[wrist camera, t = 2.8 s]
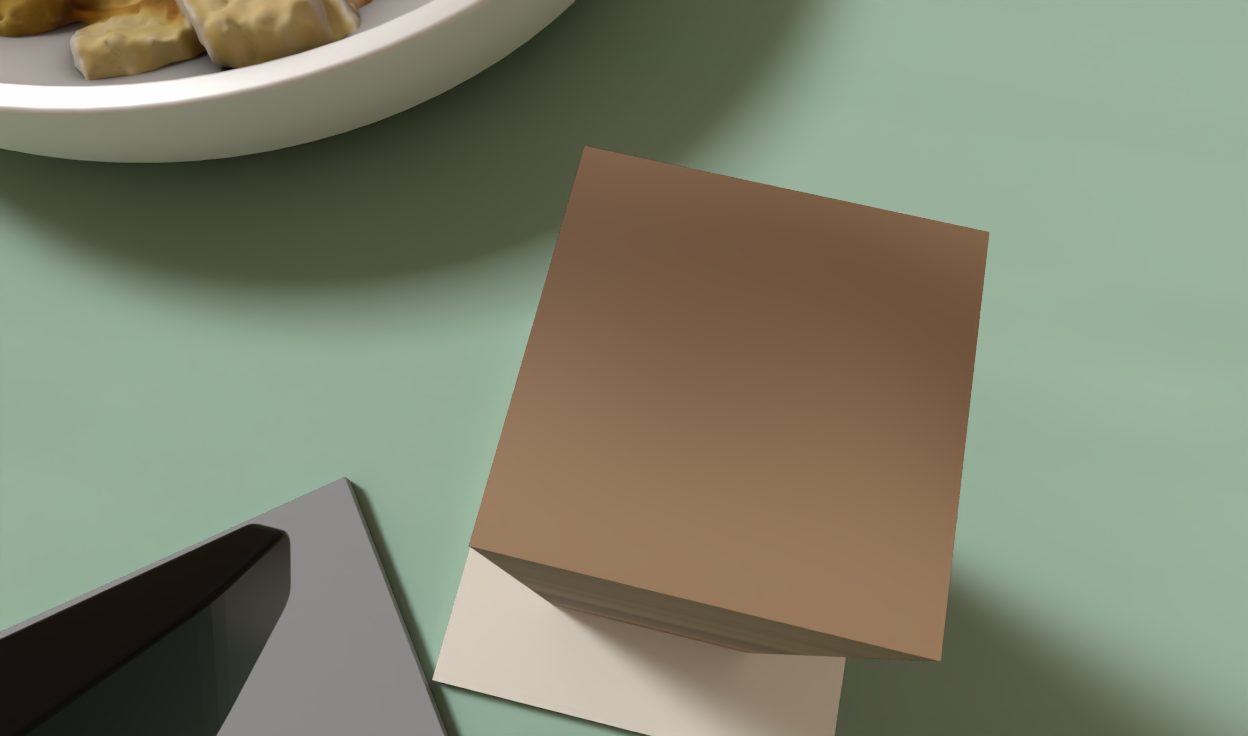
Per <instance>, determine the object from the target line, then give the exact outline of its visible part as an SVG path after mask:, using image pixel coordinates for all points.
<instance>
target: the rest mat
mask: <svg viewBox="0 0 1248 736" xmlns="http://www.w3.org/2000/svg"><path fill="white" fill-rule="evenodd" d="M253 523H256V524H262V525H266V526H270V527H274V528H278V529H282V530H284V531H286V532H287V533H288V535H289V537H290V542H291V590H290V595H289V599H288V602H287V604H286V607H285V609H284V611H283V613H282V615H281V617H280V619H279V620H278V622H277V624H276V626H275V628H274V630H273V632H272V634H271V636H270V637H269V639H268V641H267V643H266V645H265V647H264V649H263V651H262V653H261V654H260V656H259V658H258V660H257V662H256V664H255V666H254V668H253V670H252V672H251V673H250V675H249V677H248V679H247V681H246V683H245V685H244V687H243V689H242V690H241V692H240V694H239V696H238V698H237V700H236V702H235V704H234V706H233V708H232V709H231V711H230V713H229V715H228V717H227V718H226V720H225V722H224V724H223V726H222V727H221V729H220V731H219V732H218V734H217V736H448V734H447V731H446V729H445V726H444V724H443V721H442V718H441V716H440V713H439V711H438V708H437V706H436V703H435V700H434V698H433V695H432V693H431V690H430V687H429V685H428V682H427V680H426V677H425V674H424V672H423V669H422V667H421V664H420V661H419V659H418V656H417V654H416V651H415V648H414V646H413V643H412V641H411V638H410V635H409V633H408V630H407V628H406V625H405V623H404V620H403V617H402V615H401V612H400V610H399V607H398V604H397V602H396V599H395V597H394V594H393V591H392V589H391V586H390V584H389V581H388V578H387V576H386V573H385V571H384V568H383V565H382V563H381V560H380V558H379V555H378V552H377V550H376V547H375V545H374V542H373V540H372V537H371V534H370V532H369V529H368V527H367V524H366V521H365V519H364V516H363V514H362V511H361V508H360V506H359V503H358V501H357V498H356V495H355V493H354V490H353V488H352V485H351V482H350V480H349V479H347V478H346V477H343V478H341V479H339V480H337V481H334V482H332V483H330V484H328V485H326V486H323V487H321V488H319V489H317V490H314V491H312V492H310V493H308V494H306V495H303V496H301V497H299V498H297V499H294V500H292V501H290V502H288V503H286V504H283V505H281V506H279V507H277V508H274V509H272V510H270V511H268V512H266V513H263V514H261V515H259V516H257V517H254V518H252V519H250V520H248V521H246V522H243V523H241V524H239V525H237V526H234V527H232V528H230V529H228V530H226V531H223V532H221V533H219V534H217V535H214V536H212V537H210V538H208V539H206V540H203V541H201V542H199V543H197V544H194V545H192V546H190V547H188V548H186V549H183V550H181V551H179V552H177V553H174V554H172V555H170V556H168V557H166V558H163V559H161V560H159V561H157V562H154V563H152V564H150V565H148V566H146V567H143V568H141V569H139V570H137V571H134V572H132V573H130V574H128V575H126V576H123V577H121V578H119V579H117V580H114V581H112V582H110V583H108V584H106V585H103V586H101V587H99V588H97V589H94V590H92V591H90V592H88V593H86V594H83V595H81V596H79V597H77V598H74V599H72V600H70V601H68V602H66V603H63V604H61V605H59V606H57V607H54V608H52V609H50V610H48V611H46V612H43V613H41V614H39V615H37V616H34V617H32V618H30V619H28V620H26V621H23V622H21V623H19V624H17V625H14V626H12V627H10V628H8V629H6V630H3V631H1V632H0V639H1V638H3V637H5V636H7V635H9V634H11V633H14V632H16V631H18V630H20V629H22V628H24V627H27V626H29V625H31V624H33V623H35V622H37V621H40V620H42V619H44V618H46V617H48V616H50V615H53V614H55V613H57V612H59V611H61V610H63V609H66V608H68V607H70V606H72V605H74V604H76V603H79V602H81V601H83V600H85V599H87V598H89V597H92V596H94V595H96V594H98V593H100V592H102V591H105V590H107V589H109V588H111V587H113V586H115V585H117V584H120V583H122V582H124V581H126V580H128V579H130V578H133V577H135V576H137V575H139V574H141V573H143V572H146V571H148V570H150V569H152V568H154V567H156V566H159V565H161V564H163V563H165V562H167V561H169V560H172V559H174V558H176V557H178V556H180V555H182V554H185V553H187V552H189V551H191V550H193V549H195V548H198V547H200V546H202V545H204V544H206V543H208V542H211V541H213V540H215V539H217V538H219V537H221V536H224V535H226V534H228V533H230V532H232V531H234V530H237V529H239V528H241V527H243V526H246V525H248V524H253Z"/></svg>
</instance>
